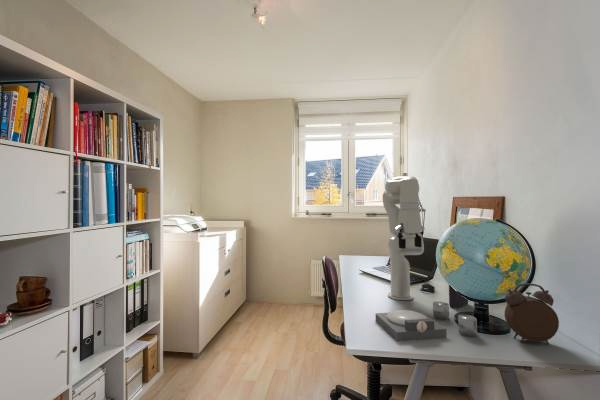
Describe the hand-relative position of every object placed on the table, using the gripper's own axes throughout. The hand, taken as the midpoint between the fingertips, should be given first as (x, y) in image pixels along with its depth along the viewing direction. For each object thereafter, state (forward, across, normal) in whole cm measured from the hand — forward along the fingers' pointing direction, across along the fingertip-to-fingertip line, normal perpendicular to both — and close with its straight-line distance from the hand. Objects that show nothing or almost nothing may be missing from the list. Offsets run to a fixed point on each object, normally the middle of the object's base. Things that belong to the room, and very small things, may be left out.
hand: (410, 247), depth 125 cm
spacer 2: (+30, -6, +20) cm, 37 cm away
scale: (+30, +9, +6) cm, 32 cm away
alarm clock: (+30, -18, +35) cm, 50 cm away
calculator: (+30, -33, 0) cm, 44 cm away
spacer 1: (+30, -11, +6) cm, 32 cm away
